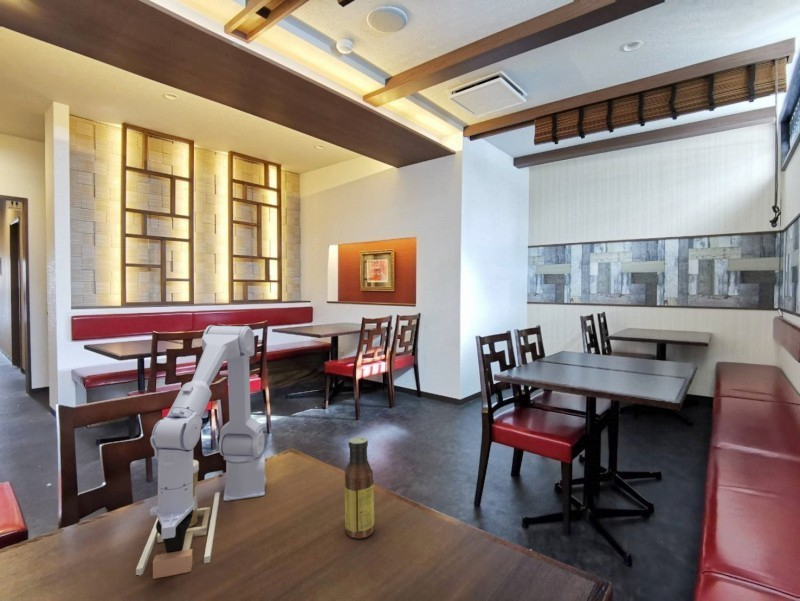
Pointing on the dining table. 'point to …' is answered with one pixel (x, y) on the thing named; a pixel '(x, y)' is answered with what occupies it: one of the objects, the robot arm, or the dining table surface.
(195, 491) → the sprinkles bottle
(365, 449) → the sauce bottle
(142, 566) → the lane rails
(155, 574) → the sliding strip
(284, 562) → the dining table surface
